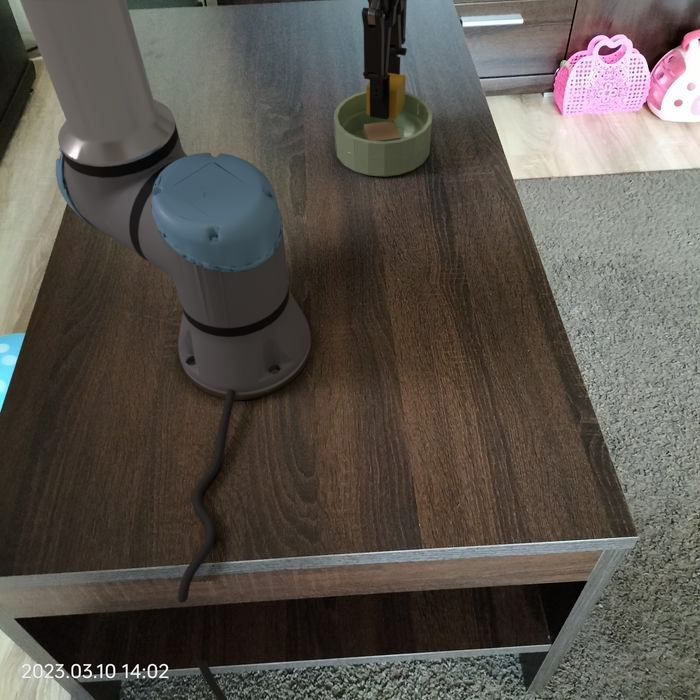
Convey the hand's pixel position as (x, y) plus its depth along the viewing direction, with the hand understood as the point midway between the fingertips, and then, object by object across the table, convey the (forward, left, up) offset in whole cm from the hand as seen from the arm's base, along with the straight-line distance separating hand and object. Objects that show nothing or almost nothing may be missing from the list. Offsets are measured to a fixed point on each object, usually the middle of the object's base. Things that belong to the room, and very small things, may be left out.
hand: (384, 107), depth 107 cm
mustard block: (0, 0, 0) cm, 0 cm away
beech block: (-5, 0, -5) cm, 7 cm away
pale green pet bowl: (-2, 0, -6) cm, 6 cm away
